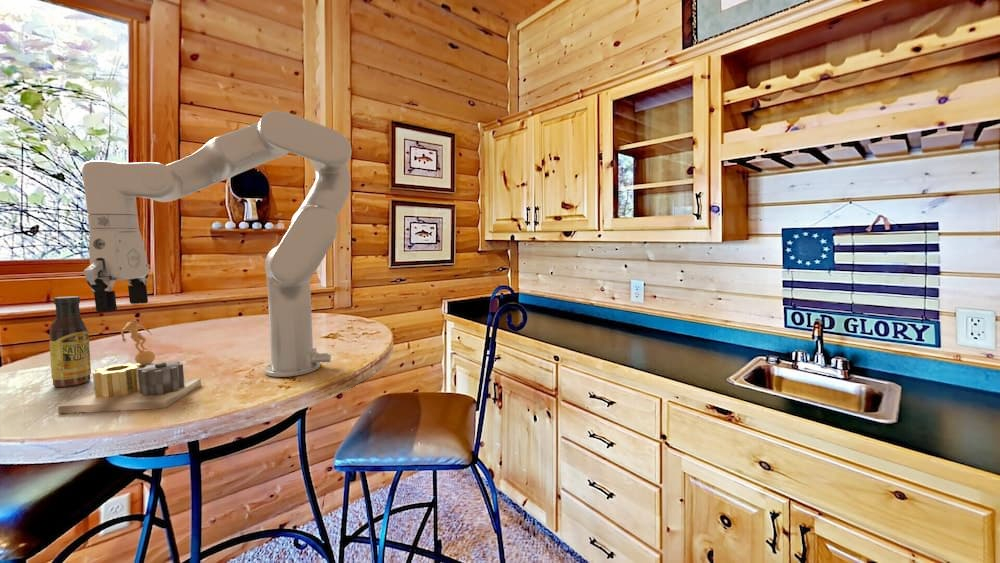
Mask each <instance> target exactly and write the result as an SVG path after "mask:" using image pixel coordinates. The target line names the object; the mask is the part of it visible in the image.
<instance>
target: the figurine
mask: <svg viewBox="0 0 1000 563" xmlns="http://www.w3.org/2000/svg"><path fill="white" fill-rule="evenodd" d="M124 325H125V326H124V327H123V328H122V329H121V330H120V334H121V337H122V342H123V343H126V342H127V340H128V339H127V338H125V334H124V332H125V331H128V332H129V333H130V334H131V335H130V339H131V340H132V341H134V342H135V344H134V346H135V349H136V350H137V351H138V352H137V353H136V354H135V355H134V356H135V357H134V360H135V362H136V364H141V366H147V365H151V364H152V363H153V362H154V361H155V358H156V355H155V353H154V352H153V351H152V350H150V349H148V348H146V347H144V344H145V343H146V342H147V338H145V337H144V335H142V333H141V332H139V328H142V329H143V330H144V331H146V332H147V333H149V334H150V335H151V336H152V335H153V333H152V332H151V331H150V330H149V329H148V328H146V327H145V326H144V325H142V324H140V323H138V320H137V319H133V320H132V321H128V322H126V323H125V324H124ZM139 345H140V347H141V348H140V347H139Z"/></svg>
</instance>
